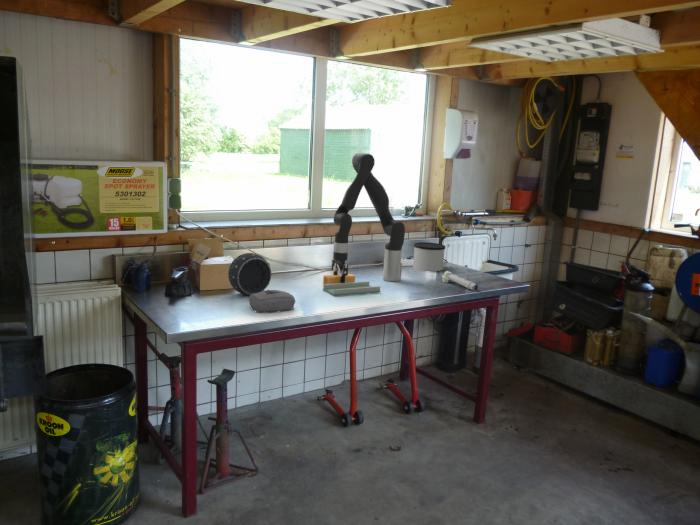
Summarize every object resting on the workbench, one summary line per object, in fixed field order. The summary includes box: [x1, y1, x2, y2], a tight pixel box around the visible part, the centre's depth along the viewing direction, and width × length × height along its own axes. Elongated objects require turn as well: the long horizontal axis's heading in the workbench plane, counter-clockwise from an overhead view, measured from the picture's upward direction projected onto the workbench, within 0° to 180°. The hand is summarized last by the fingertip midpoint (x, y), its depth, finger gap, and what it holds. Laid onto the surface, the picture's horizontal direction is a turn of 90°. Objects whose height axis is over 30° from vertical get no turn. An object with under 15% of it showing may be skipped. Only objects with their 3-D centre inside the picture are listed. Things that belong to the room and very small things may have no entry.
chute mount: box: [322, 281, 381, 297], centre depth 300 cm, size 26×13×3 cm, turn 118°
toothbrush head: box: [441, 270, 479, 292], centre depth 326 cm, size 5×7×25 cm
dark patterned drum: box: [227, 252, 273, 296], centre depth 282 cm, size 11×20×20 cm, turn 126°
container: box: [412, 241, 446, 272], centre depth 365 cm, size 19×19×15 cm
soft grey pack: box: [248, 289, 296, 313], centre depth 262 cm, size 15×8×20 cm
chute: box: [322, 273, 356, 286], centre depth 312 cm, size 16×6×5 cm, turn 118°
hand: (338, 281), depth 312 cm, fingers open, 8 cm apart
